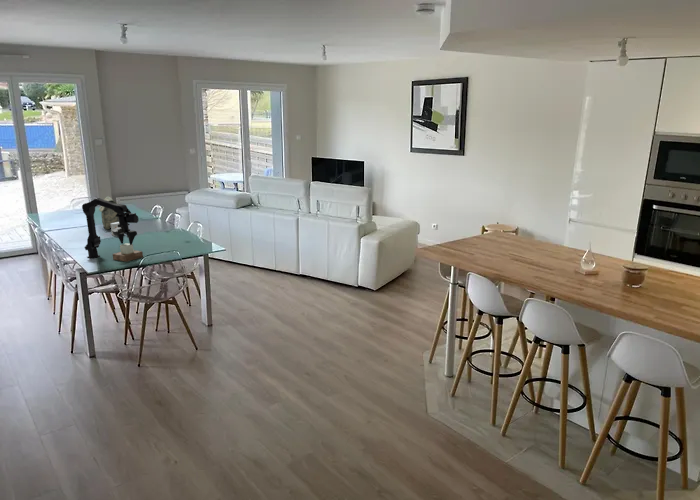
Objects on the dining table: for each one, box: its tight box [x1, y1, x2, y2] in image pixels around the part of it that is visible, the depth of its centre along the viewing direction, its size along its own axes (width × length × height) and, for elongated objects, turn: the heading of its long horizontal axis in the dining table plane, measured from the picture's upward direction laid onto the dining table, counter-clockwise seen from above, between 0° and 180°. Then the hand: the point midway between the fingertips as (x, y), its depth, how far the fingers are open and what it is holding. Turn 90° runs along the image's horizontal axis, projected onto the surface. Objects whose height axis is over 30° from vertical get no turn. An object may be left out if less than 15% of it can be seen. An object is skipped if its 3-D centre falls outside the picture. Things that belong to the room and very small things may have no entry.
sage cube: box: [119, 242, 135, 254], centre depth 362 cm, size 6×6×6 cm
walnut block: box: [112, 249, 144, 263], centre depth 363 cm, size 14×14×4 cm
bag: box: [98, 195, 119, 230], centre depth 463 cm, size 22×16×27 cm
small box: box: [110, 222, 119, 237], centre depth 434 cm, size 8×6×10 cm
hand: (126, 244), depth 361 cm, fingers open, 9 cm apart
